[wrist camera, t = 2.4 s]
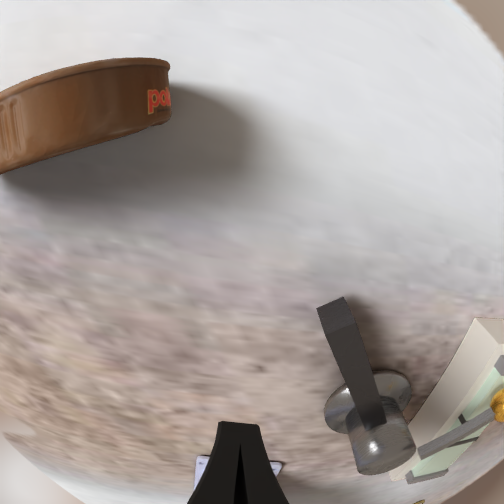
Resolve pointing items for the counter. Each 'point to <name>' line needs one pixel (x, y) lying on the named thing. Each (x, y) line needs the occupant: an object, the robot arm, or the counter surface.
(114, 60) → the tin
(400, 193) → the counter surface
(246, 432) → the robot arm
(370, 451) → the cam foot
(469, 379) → the level stand
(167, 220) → the counter surface
